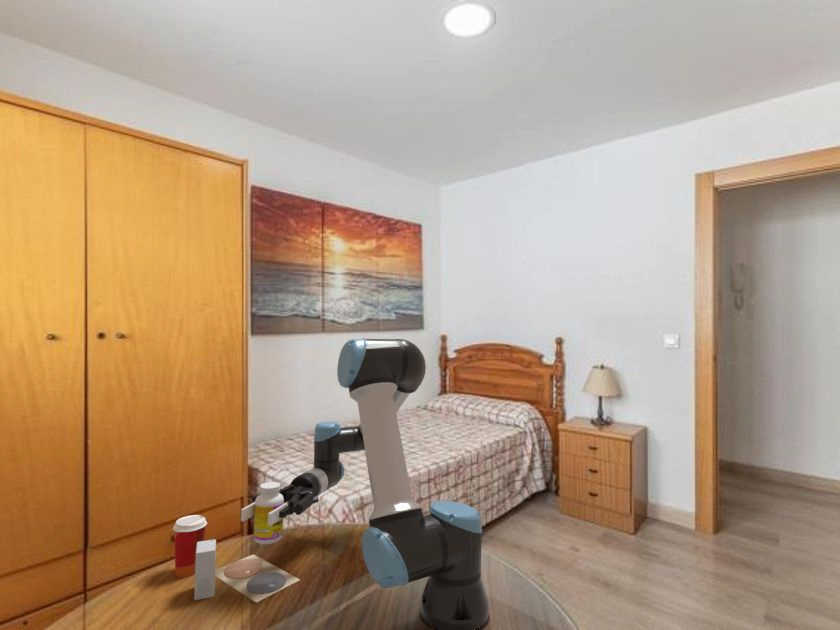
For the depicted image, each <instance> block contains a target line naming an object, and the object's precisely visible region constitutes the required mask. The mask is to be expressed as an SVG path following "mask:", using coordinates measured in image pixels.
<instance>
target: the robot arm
mask: <svg viewBox="0 0 840 630" xmlns="http://www.w3.org/2000/svg"><path fill="white" fill-rule="evenodd" d="M336 369H337V371H336V372H337V381H338V383H339V386H340V387H341V388H344V389H348V393H349V398H350V399H352V400H354V402H356V403H357V408H358V416H359V422H360V423H359V425H355V426H347V427H345V426H344V427H341V425H340V423H339V422H337V421H334V420H333V421H321V422H318V423H317V424H315V427H314V434H313V435H314V437H313V467H312V468H310V469H309V470H307V471H304V472H302V473H301V474H300V475H297V476H296V477H294V478H293V479H292V480H291V482H290V484H289V485H286V486H283V488H280V491H279V493H280V494H282V495H283V497H284V504H283V505H281V506H280V507H278V508H276V509H275V510H273V511H271V512H270V513H268V526H271V525H273V524H274V523H276V522H277V521H279V520H280V519H282V518H283V519H285V518H286V517H288V516H291V515H294V514H295V515H297V516H299V515H302V514H303V513H304V512H305V511H306V510H308V508H310V507H311V506H312V505H313V504H316V503H318V502H319V496H320V495H321V494H323V493H325V492H326V491H328V490H329V489H331V488H333V487H335V486H336V485H338V483H339V482H340V481H342V480H343V478H344V475H345V468H344V464H343V463H342V462H341V460H340V454H346V453H353V452H360V451H361V452H362V451H365V452H364V453H365V459H366V464H367V465H366V466H367V471H368V472H367V473H368V477H369V484H370V491H371V498H372V503H373V504H372V505H373V511H372V512H371V514H370V515H369V517H368V525H369V527H368V526H367V528H366V529H365V530H364V531H363V533H362V537H361V539H362V542H361V550H362V554H363V560H364V562H365V563H364V564H365V565H366V568H367V570H368V573H369V574H370V576H371V577H372V579H373V580H374V582H375V583H376V584H377V585H378V586H380V587H381V588H383V589H391V588H394V587H395V588H396V587H399V586H403V587H404V586H406V585H408V584H410V583H413V582H415V581H419V580H422V579H424V578H427V579H426V582H425V583H426V584H425V586H424V589H423V591H422V595H421V599H420V614H421V617H422V619H423V621H425V623H426V624H428V625H429V626H430V627H432V628H433V627H434V629H435V628H436V629H435V630H438V629H439V630H474V629H477V630H479V629H480V628H479V627H481V626H482V627H484V626H485V624H486V623H487V621H488V620H489V615H490V614H489V610H490V609H489V601H488V599H487V594H486V591H485V586H484V584H483V580H482V541H483V539H482V537H483V536H482V534H483V528H482V526H483V525H482V516H481V514H480V513H479V511H478V510H477V509H475V508H474V507H472V506H470V505H468V504H465V503H460V502H456V501H450V500H449V501H448V500H440V501H439V500H438V501H434V502H433V503H432V504H431V505H430V506H429V509H428V510H429V513H428V514H425V515H424V513H423V509H422V506H421V505H420V504H418V503H417V502H415V500H414V499H413V494H412V488H411V482H410V478H409V474H408V473H409V472H408V467H407V463H406V462H407V461H406V457H405V452H404V446H403V442H402V436H401V430H400V426H399V420H398V416H397V413H398V411H399V410H400V409H401V407H402V405H404V403H405V401H406V400H407V399H408V397H409V395H410V394H414V393H415V392H416V391H417V390H418V389H419V387H421V385H422V383H423V381H424V379H425V375H426V371H427V366H426V359H425V357H424V354H423V352H422V351H421V350H420V348H419V347H418V346H417V345H416V344H415V343H413V342H412V341H410V340H407V339H403V338H365V337H363V338H362V337H361V338H354V339H353V338H352V339H348V340H347V341H346V342H345V343H344V344H343V346H342V348H341V350H340V352H339V356H338V361H337V367H336ZM260 494H261V493H260V492H259V493H258V494H256V495H253V496H252V497H251V503H250V504H248V505H247V506H244V507H243V508H241V511H240V513H241V514H240V522H245V521H247V520H249V519H250V518H252V517H253V516H254V517H255V500H256V498H257V497H258V496H259V495H260ZM482 627H481V628H482ZM478 628H479V629H478Z"/></svg>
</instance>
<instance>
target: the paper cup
mask: <svg viewBox="0 0 840 630" xmlns="http://www.w3.org/2000/svg"><path fill="white" fill-rule="evenodd" d="M207 525H208V522H207V520H206V517H204V516H203V515H201V514H193V515H192V514H191V515H186V516H182V517H180V518H178V519H177V520H176V521H175V523H174V525H173V527H172V531H173V532H174V533H173V534H174V565H175V566H174V570H175V572H174V573H175V575H176V576H177V577H178V578H179V577H180V578H187V577H191V576H195V561H196V546H197V542H200V541H205V536H206V535H205V533H206V526H207Z"/></svg>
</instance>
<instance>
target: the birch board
mask: <svg viewBox="0 0 840 630" xmlns="http://www.w3.org/2000/svg"><path fill="white" fill-rule="evenodd" d="M246 559H253V560H257V561H260V562H261V563H262V569H261V570H260V572H258V573H257V574H255V575H253V576H251V577H248V578H243V579H231V578H228V577H226V576H225V575H224V570H225V568H226V567H227V566H228V565H230V564H231V563H229V564H226V565H225V566H222V567H220V568H218V569H215V578H217V579H219V580H220V581H222V582H223V583H225V584H227V585H228V586H230V587H231V588H233V589H234V590H236V591H238V592H239V593H241V594H242V595H244V596H245V597H246V598H249V599H250V600H252V601H253V602H254V603H256V604H257V603H259V602H261V601H262V600H264V599H266V598H268V597H270V596H272V595H275V594H276V593H279V592H280V591H282V590H283V589H286V588H287V587H289V586H291V585H294V584H295V583H297V582H299V581H300V580H301V579H299V578H298V577H296V576H294V575H293V574H290V573H288V572H287V571H285V570H283V569H281V568H279V567H277V566H276V565H274V564H272V563H270V562H268V561H267V560H264V559H263V558H261V557H259V556H257V555H255V554H254V553H253V554H251V555H248V556H246V557H244V558H242V559H239V560H238V561H240V560H246ZM266 572H278V573H281V574H283V575H284V576H285V577H286V583H285V585H284V586H283V587H282V588H280V589H279V590H277V591H274V592H271V593H266V594H255V593H252V592H250V591H248V589H247V582H248V581H249V580H250V579H251V578H252V577H254V576H256V575H258V574H261V573H266Z"/></svg>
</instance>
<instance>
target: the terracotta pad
mask: <svg viewBox="0 0 840 630" xmlns="http://www.w3.org/2000/svg"><path fill="white" fill-rule="evenodd" d="M239 560H240V561H239ZM239 560H236V561H234V562H232V563H229V564H230V565H229V564H227V565H228V566H227V565H226V566H227V567H226V568H225V570H224V575H225V576H226V577H228V578H231V579H243V578H248V577H251V576H253V575H255V574H257V573H258V572H260V570H261V569H262V563H261V562H260V561H257V560H253V559H246V560H241V559H239Z"/></svg>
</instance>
